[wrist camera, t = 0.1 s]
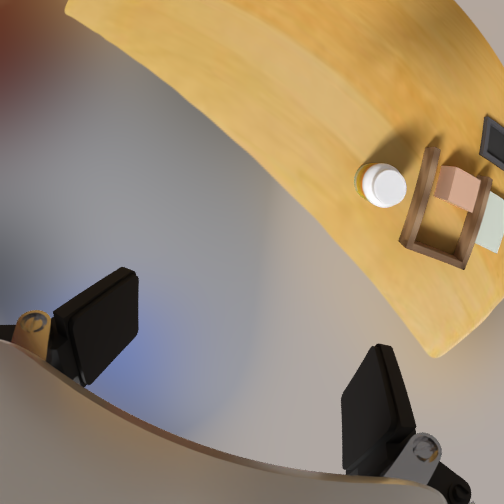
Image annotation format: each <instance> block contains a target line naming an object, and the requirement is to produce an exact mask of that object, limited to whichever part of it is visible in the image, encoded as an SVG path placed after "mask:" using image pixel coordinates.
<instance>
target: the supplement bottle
mask: <svg viewBox="0 0 504 504" xmlns="http://www.w3.org/2000/svg"><path fill="white" fill-rule="evenodd" d="M354 185H355V188H356V191H357V192H358V194H359V195H360V196H361V197H362V198H364V199H366V200H367V201H369V202H371V203H372V204H374V205H376V206H378V207H382V208H387V207H391V206H393V205H395V204H398V203H399V202H401V201H402V200H403V198H404V197H405V194H406V189H407V188H406V182H405V179H404V178H403V176H402V175H401V174H400V172H399V171H398V170H397V169H396V168H395V167H393V166H391V165H389V164H385V163H369V164H365V165H363V166H361V167H360V168H359V169H358V170H357V172H356V174H355V177H354Z"/></svg>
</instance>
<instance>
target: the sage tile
mask: <svg viewBox="0 0 504 504" xmlns="http://www.w3.org/2000/svg"><path fill="white" fill-rule="evenodd" d="M503 234H504V200H503V199H502V198H500V197H499V196H497V195H496V194H494V193H493V192H491V191H490V194H489V198H488V202H487V205H486V209H485V213H484V216H483V219H482V223H481V226H480V229H479V232H478V235H477V238H476V241H475V243H476V244H479V245H481V246H483V247H485V248H487V249H489V250H491V251H493V252H495V253H497V252H498V249H499V246H500V243H501V240H502V237H503Z"/></svg>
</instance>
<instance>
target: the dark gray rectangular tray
mask: <svg viewBox="0 0 504 504" xmlns="http://www.w3.org/2000/svg"><path fill="white" fill-rule="evenodd" d="M479 155H481V156H482V157H484V158H485V159H487V160H489V161H490V162H492V163H493V164H494V165H496V166H497V167H499V168H500V169H502V170H503V171H504V128H503V127H502V126H500V125H499V124H498V123H496V122H495V121H494V120H492V119H491V118H489V117H484V124H483V132H482V140H481V146H480V152H479Z"/></svg>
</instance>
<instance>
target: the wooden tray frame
mask: <svg viewBox="0 0 504 504" xmlns="http://www.w3.org/2000/svg"><path fill="white" fill-rule="evenodd" d="M439 155H440V149H438V148H436V147H428V148H425V151H424V156H423V160H422V165H421V169H420V173H419V176H418V180H417V184H416V188H415V191H414V195H413V198H412V202H411V205H410V208H409V211H408V214H407V218H406V221H405V224H404V227H403V230H402V233H401V235H400V238H399V242H400V243H401V244H402V245H403V246H404V247H405V248H407V249H410V250H413V251H415V252H418V253H421V254H424V255H426V256H429V257H432V258H434V259H437V260H440V261H442V262H445V263H448V264H450V265H453V266H455V267H458V268H461V269H463V270H464V269H465V267H466V265H467V262H468V260H469V257H470V254H471V252H472V249H473V246H474V244H475V241H476V238H477V235H478V232H479V229H480V226H481V223H482V219H483V216H484V213H485V209H486V205H487V202H488V198H489V194H490V190H491V185H492V181H493V179H491V178H489V177H485V176H479V175H477V179H479V180H481V182H480V186H479V190H478V194H477V198H476V202H475V205H474V209H473V212H472V213H471V212H468V213H467V216H466V220H465V223H464V226H463V229H462V232H461V235H460V238H459V241H458V243H457V246H456V249H455V251H454V254H453V255H451V254H449V253H446V252H444V251H441V250H439V249H436V248H434V247H431V246H429V245H426V244H423V243H421V242H418V241H415V239H416V236H417V233H418V230H419V227H420V224H421V221H422V218H423V215H424V212H425V209H426V205H427V202H428V199H429V195H430V192H431V188H432V184H433V180H434V177H435V173H436V168H437V164H438V160H439Z"/></svg>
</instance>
